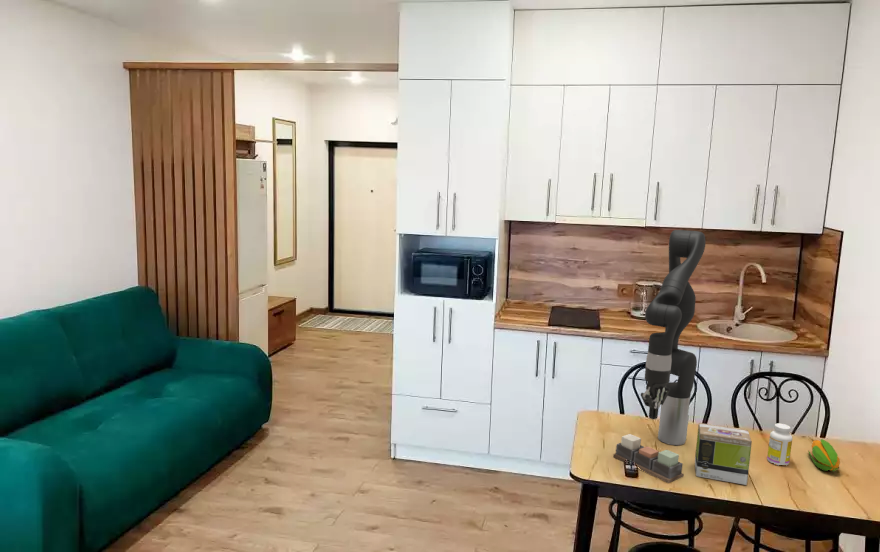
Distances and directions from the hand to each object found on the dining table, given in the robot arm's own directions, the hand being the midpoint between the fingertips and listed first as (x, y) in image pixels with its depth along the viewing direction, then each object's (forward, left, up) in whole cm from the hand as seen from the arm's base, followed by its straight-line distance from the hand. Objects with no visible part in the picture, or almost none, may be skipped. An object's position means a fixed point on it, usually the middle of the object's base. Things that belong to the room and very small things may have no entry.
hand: (652, 418), depth 207 cm
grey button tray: (0, 0, -17) cm, 17 cm away
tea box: (-15, +16, -17) cm, 28 cm away
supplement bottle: (-41, +22, -17) cm, 50 cm away
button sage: (0, +7, -13) cm, 15 cm away
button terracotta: (0, 0, -15) cm, 15 cm away
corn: (-54, +30, -17) cm, 64 cm away
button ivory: (0, -7, -13) cm, 15 cm away
